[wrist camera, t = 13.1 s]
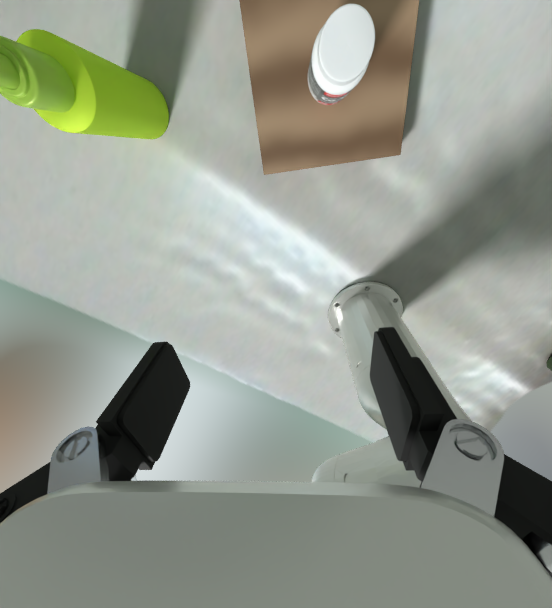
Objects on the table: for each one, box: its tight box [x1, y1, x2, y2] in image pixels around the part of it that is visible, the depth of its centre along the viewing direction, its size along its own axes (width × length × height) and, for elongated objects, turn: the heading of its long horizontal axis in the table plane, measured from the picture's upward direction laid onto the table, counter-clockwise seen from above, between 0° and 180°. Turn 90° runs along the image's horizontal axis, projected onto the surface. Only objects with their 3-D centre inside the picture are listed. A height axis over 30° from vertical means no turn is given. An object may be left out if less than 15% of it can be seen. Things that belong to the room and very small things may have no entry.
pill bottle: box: [308, 4, 375, 105], centre depth 21 cm, size 5×5×8 cm
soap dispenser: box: [0, 29, 169, 139], centre depth 21 cm, size 6×7×20 cm
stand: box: [240, 0, 419, 175], centre depth 26 cm, size 16×16×3 cm
